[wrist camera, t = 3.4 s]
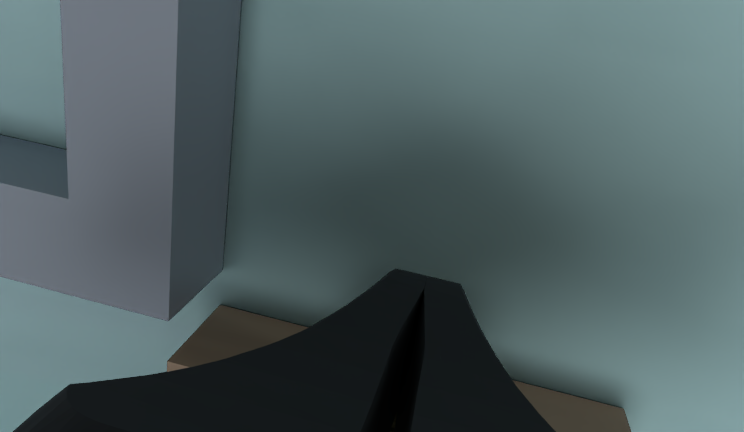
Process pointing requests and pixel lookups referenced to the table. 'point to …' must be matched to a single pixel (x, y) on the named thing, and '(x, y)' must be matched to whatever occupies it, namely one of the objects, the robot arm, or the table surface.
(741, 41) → the table surface
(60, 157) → the grey square frame
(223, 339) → the socket block
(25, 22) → the table surface
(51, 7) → the table surface
